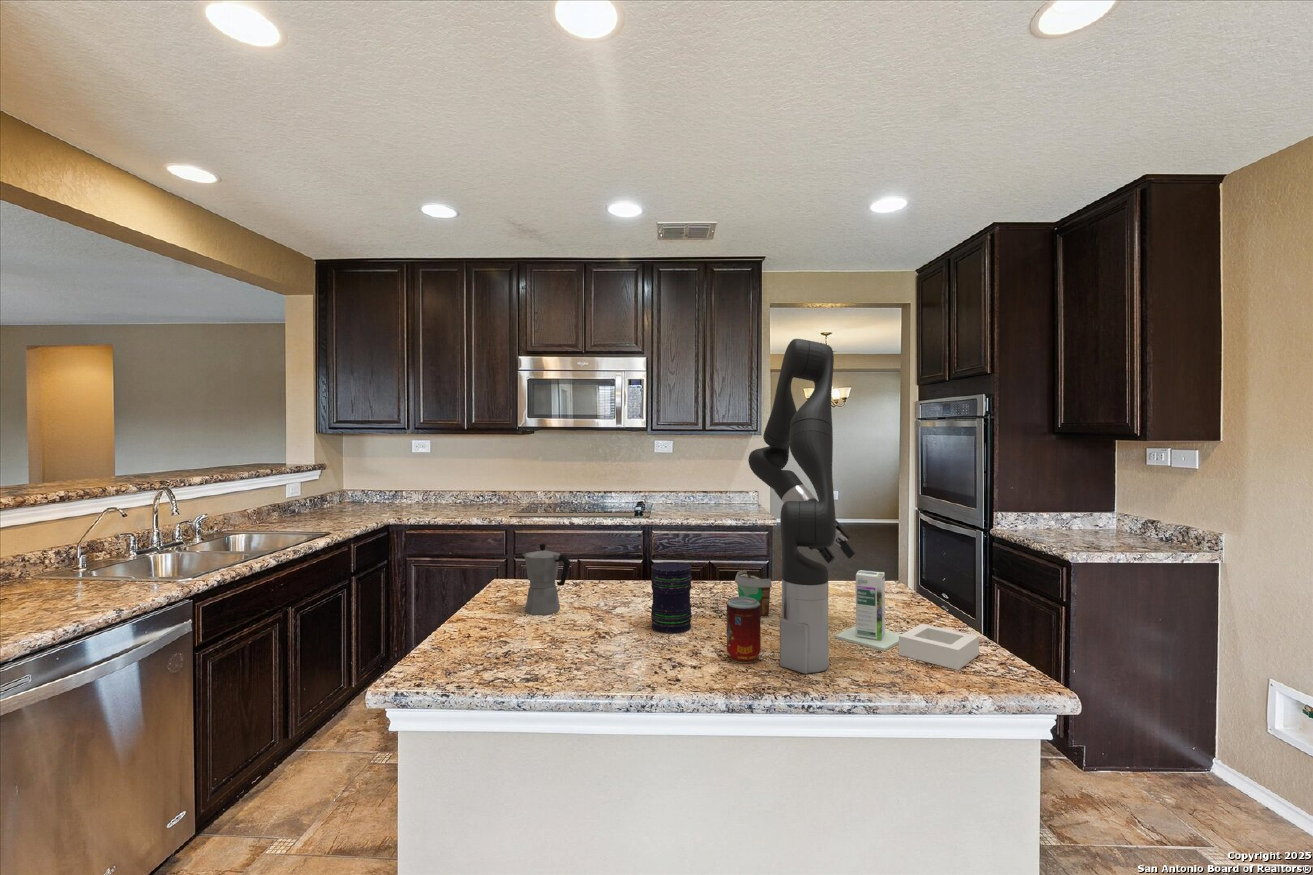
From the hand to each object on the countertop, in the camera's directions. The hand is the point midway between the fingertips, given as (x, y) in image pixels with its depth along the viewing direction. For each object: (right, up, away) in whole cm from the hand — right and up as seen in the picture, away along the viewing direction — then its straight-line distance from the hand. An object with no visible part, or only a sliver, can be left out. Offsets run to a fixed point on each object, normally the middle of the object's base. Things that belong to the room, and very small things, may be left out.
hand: (842, 558), depth 145 cm
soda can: (-26, -17, -18) cm, 37 cm away
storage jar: (-41, -17, +2) cm, 45 cm away
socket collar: (+15, -17, -17) cm, 28 cm away
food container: (-20, -17, +14) cm, 30 cm away
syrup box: (+5, -17, -6) cm, 18 cm away
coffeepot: (-74, -17, +16) cm, 78 cm away
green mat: (+5, -17, -6) cm, 19 cm away
